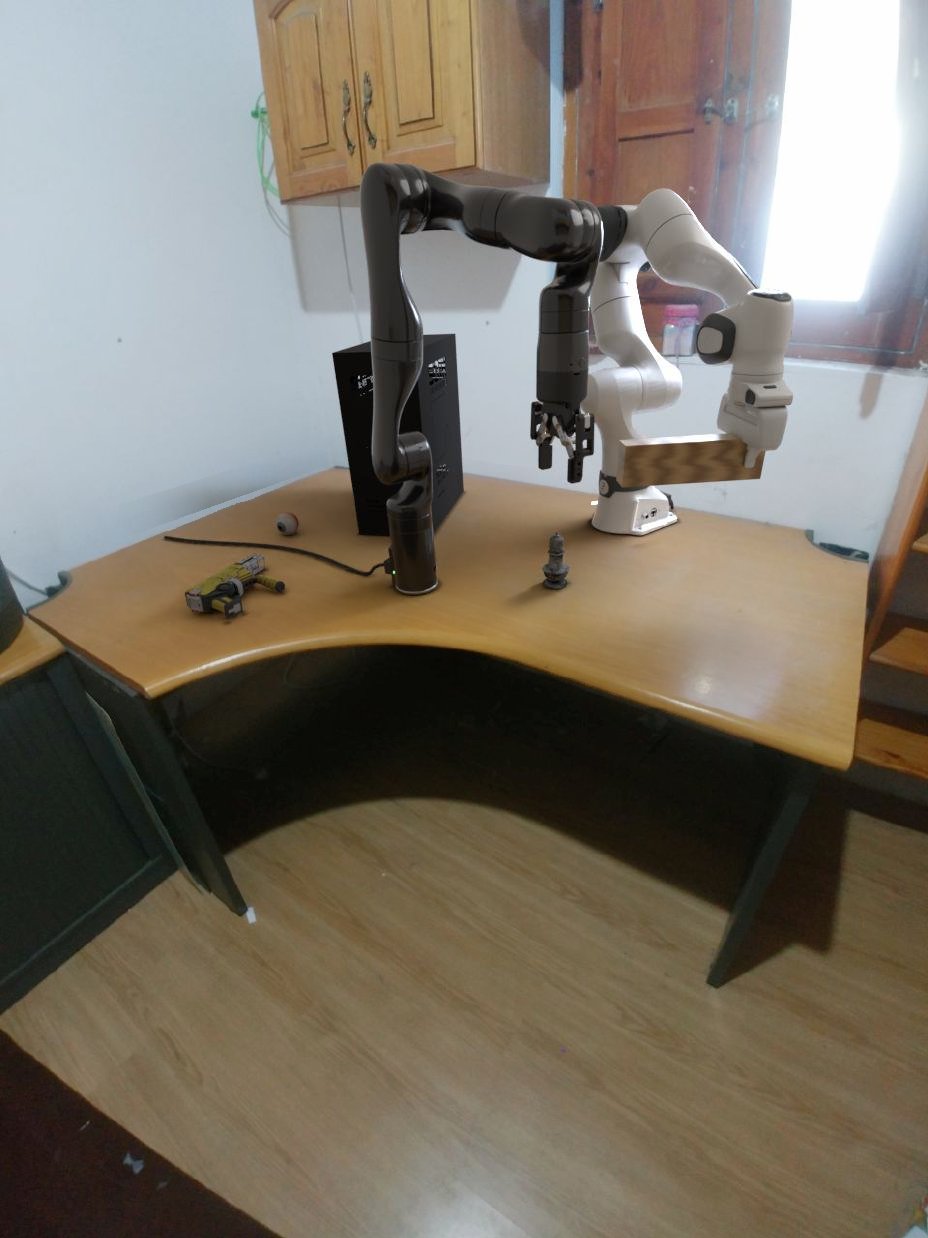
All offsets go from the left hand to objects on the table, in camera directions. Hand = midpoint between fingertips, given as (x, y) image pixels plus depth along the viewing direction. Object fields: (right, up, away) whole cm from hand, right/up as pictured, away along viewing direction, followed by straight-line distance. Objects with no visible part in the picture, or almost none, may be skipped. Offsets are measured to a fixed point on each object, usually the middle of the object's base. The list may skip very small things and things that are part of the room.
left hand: (559, 475), depth 96 cm
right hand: (+40, +8, +23) cm, 47 cm away
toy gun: (-63, -17, +39) cm, 76 cm away
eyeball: (-63, 0, +70) cm, 94 cm away
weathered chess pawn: (+5, -15, +36) cm, 39 cm away
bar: (+29, +5, +25) cm, 39 cm away
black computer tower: (-29, +9, +80) cm, 86 cm away
